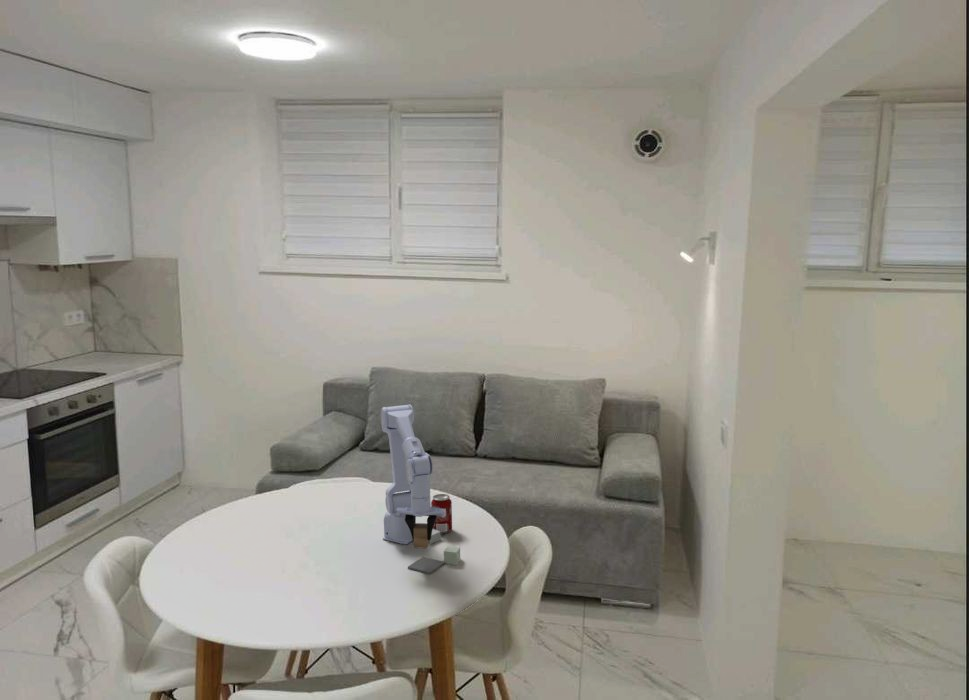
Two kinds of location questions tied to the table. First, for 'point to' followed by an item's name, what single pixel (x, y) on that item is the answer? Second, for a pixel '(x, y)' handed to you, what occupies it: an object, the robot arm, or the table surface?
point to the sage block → (452, 555)
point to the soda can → (446, 522)
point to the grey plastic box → (435, 536)
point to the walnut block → (421, 535)
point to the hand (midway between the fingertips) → (421, 538)
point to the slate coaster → (426, 565)
